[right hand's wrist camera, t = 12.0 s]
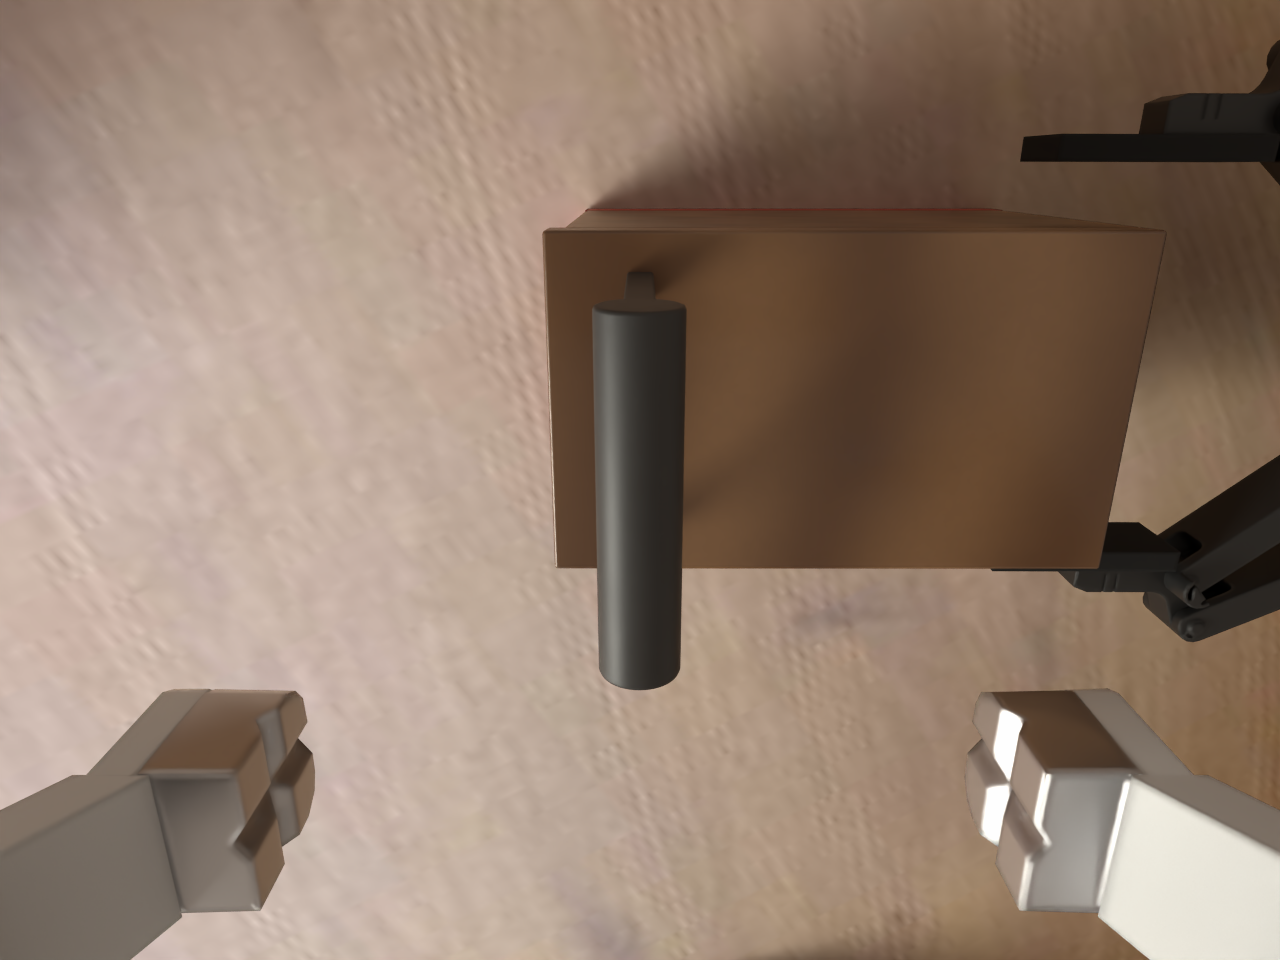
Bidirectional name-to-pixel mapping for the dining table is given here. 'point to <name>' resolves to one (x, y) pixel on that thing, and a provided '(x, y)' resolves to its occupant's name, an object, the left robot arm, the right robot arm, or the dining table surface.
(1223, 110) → the left robot arm
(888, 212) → the chest
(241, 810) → the right robot arm
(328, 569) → the dining table surface
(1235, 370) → the dining table surface
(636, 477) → the lid
